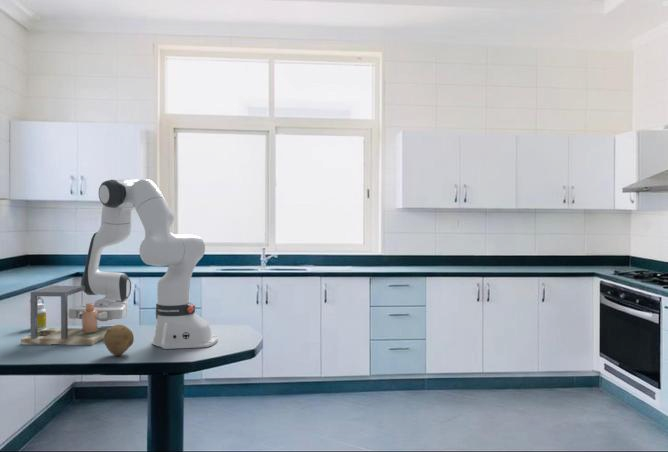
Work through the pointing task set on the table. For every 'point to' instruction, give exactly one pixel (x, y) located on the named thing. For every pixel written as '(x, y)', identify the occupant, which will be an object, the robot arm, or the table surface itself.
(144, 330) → the table surface
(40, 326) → the supplement bottle
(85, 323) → the terracotta bottle
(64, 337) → the tunnel roof
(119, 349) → the natural sponge
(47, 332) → the birch board
